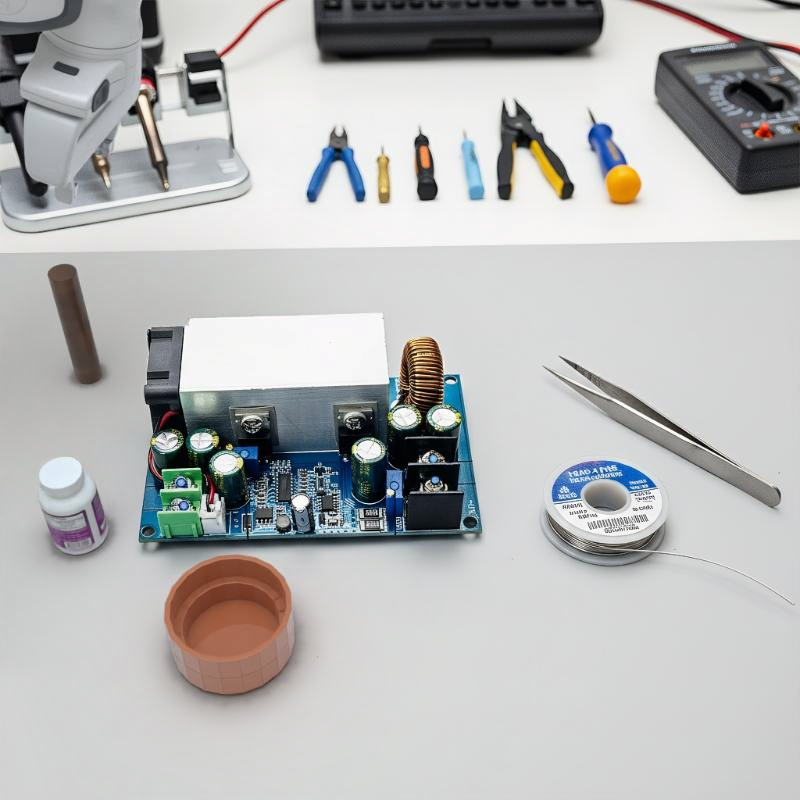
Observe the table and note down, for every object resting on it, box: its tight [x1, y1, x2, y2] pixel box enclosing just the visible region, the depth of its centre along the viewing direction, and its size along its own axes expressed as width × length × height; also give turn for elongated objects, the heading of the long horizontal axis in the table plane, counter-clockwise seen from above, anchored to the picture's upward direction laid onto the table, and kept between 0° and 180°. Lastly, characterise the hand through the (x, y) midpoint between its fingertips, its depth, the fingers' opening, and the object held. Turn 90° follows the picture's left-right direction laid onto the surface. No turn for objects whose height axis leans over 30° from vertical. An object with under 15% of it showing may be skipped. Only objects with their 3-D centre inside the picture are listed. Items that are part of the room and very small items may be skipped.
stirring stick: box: [47, 263, 103, 385], centre depth 110 cm, size 3×3×15 cm
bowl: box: [163, 553, 296, 695], centre depth 89 cm, size 11×11×6 cm
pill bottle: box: [37, 456, 109, 556], centre depth 96 cm, size 5×5×10 cm
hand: (85, 175), depth 103 cm, fingers open, 8 cm apart
